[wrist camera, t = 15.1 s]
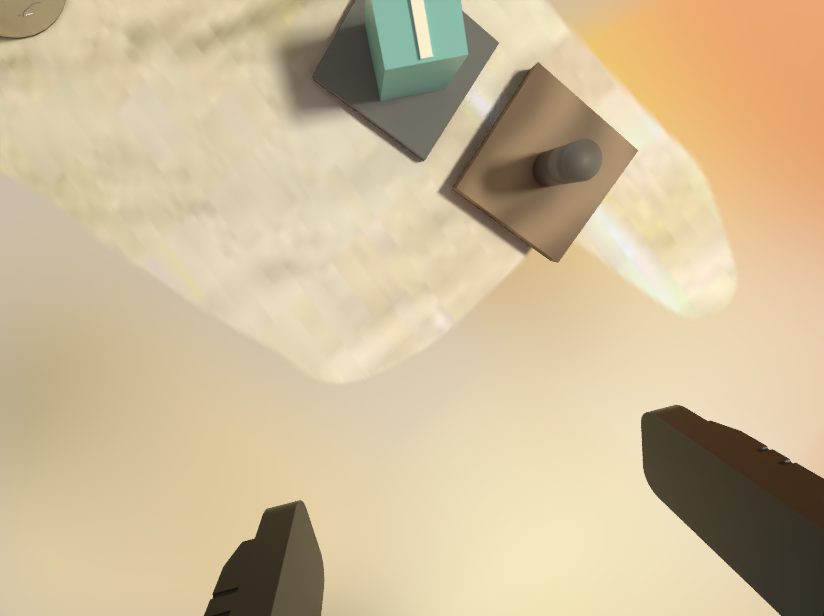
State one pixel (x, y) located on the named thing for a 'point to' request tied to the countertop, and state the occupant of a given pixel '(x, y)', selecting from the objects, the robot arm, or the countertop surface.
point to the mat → (406, 116)
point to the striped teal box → (415, 44)
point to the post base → (516, 154)
